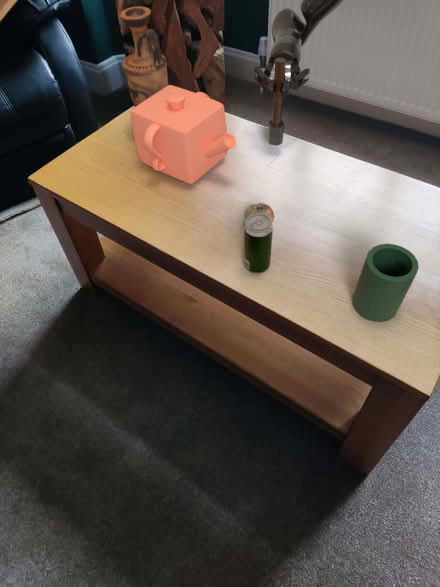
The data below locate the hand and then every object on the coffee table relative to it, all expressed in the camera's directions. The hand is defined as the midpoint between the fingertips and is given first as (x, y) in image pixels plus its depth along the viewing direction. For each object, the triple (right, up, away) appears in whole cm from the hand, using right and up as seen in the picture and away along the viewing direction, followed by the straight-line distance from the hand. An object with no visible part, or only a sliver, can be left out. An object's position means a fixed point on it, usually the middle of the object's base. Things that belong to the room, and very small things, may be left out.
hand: (277, 93), depth 97 cm
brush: (+1, -6, +13) cm, 14 cm away
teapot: (-19, -13, +13) cm, 27 cm away
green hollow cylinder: (+17, -47, -15) cm, 52 cm away
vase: (-30, -1, +23) cm, 38 cm away
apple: (-4, -31, -1) cm, 31 cm away
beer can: (-5, -39, -8) cm, 40 cm away
